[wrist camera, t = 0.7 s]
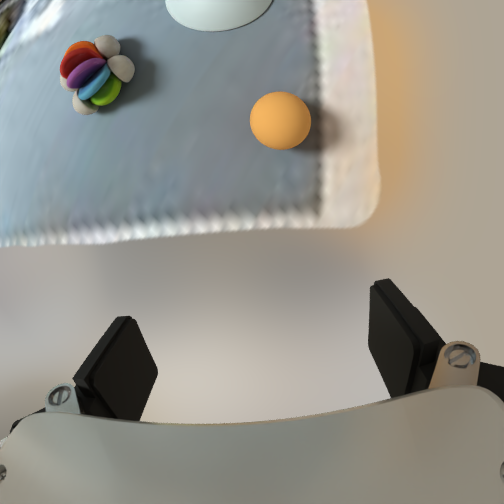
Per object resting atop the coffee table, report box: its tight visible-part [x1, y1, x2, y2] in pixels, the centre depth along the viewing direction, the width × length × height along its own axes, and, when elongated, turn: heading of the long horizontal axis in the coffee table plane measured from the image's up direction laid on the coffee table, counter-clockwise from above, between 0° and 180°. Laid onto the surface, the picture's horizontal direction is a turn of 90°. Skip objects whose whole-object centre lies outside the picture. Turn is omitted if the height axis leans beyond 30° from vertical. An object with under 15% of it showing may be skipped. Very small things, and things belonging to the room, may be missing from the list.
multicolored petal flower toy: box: [60, 35, 135, 115], centre depth 23 cm, size 8×10×7 cm
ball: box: [250, 92, 311, 150], centre depth 26 cm, size 6×6×6 cm
